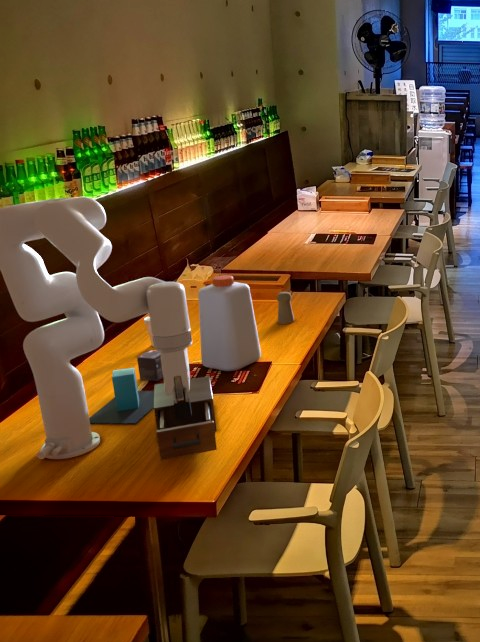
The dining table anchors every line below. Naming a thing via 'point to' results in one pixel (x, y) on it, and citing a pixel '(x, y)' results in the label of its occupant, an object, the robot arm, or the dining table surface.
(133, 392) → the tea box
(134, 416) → the mat
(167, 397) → the cabinet
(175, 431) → the drawer
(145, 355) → the box
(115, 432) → the dining table surface
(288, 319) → the pepper shaker
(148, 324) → the smoothie
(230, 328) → the plastic bottle
